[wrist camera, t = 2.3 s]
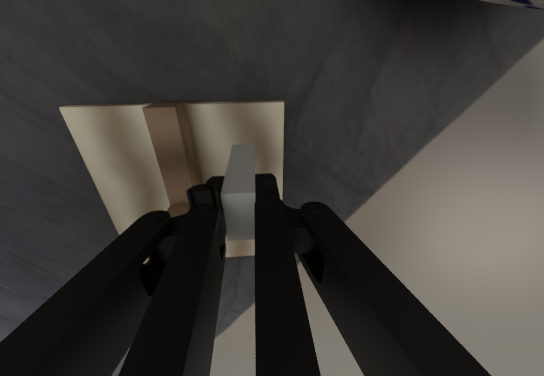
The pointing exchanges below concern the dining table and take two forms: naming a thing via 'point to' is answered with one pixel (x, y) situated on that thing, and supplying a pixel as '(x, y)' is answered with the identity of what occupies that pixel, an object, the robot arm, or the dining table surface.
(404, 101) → the dining table surface
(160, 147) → the wooden mallet
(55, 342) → the robot arm
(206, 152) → the cream flat square slab
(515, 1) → the vase
